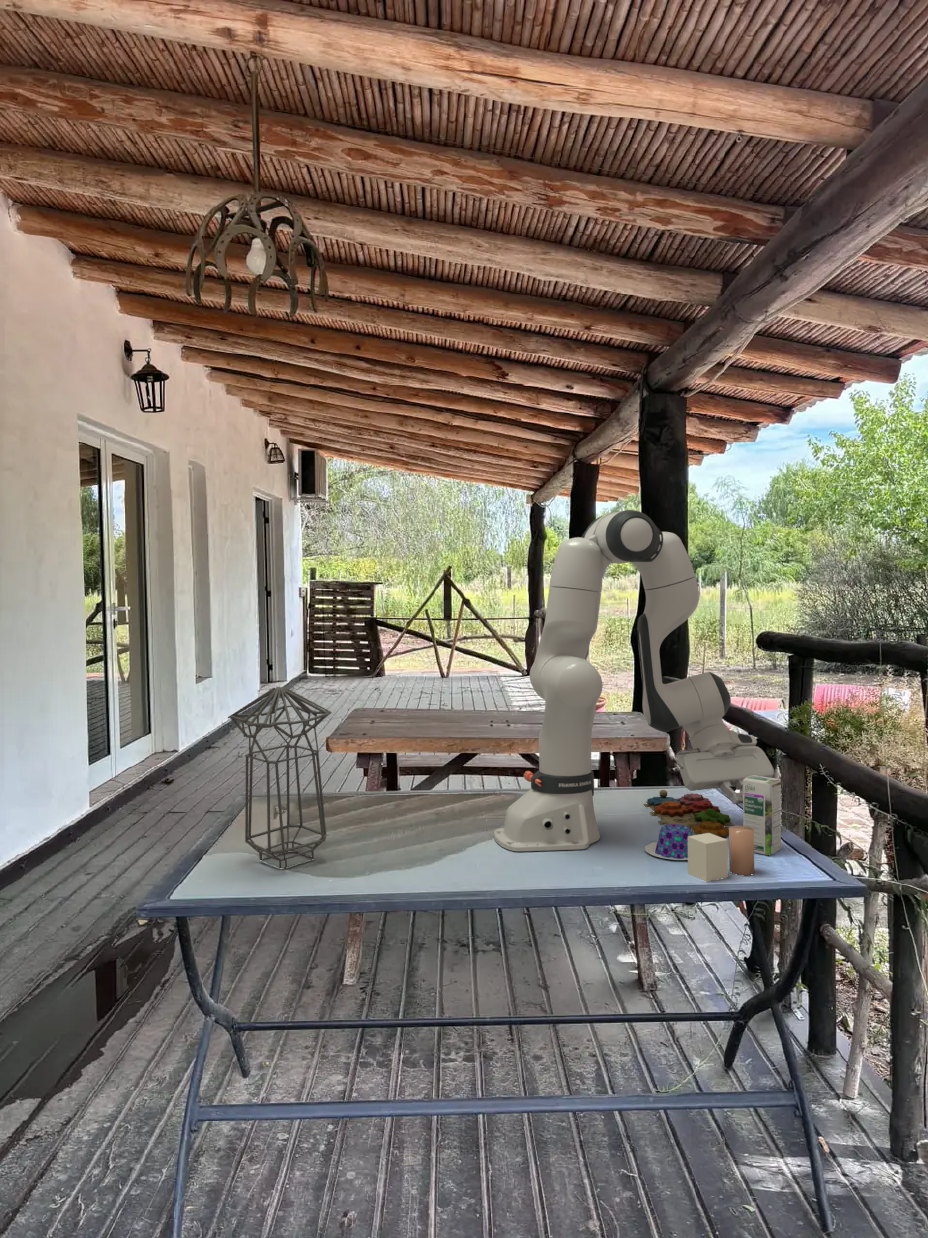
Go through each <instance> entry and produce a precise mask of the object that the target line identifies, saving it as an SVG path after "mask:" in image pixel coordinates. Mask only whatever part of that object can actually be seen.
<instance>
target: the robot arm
mask: <svg viewBox="0 0 928 1238" xmlns="http://www.w3.org/2000/svg"><path fill="white" fill-rule="evenodd" d="M627 563H631V564H632V565H634V566H635V567H636V569H637V571H638V572H639V574H640V577H641V581H642V585H643V589H644V593H645V606H644V611H643V613H642V614H641V615H640V616H639V617H638V618H637V627H636V628H637V646H638V655H639V657H638V658H639V667H640V676H641V677H640V678H641V687H642V688H641V689H642V691H641V692H642V712H643V716H644V719H645V722H646V723H647V724H648V726H649V727H651V728H653V729H654V730H657V731H659V732H662V733H665V734H666V733H668V732H670V731H673V730H675V729H678V728H680V727H683V730H684V731H686V733H687V734H688V737H689V741H690V744H691V747H692V749H681V750H678V752H677V753H675V756H674V759H675V762H676V764H677V766H678V767H679V771H680V776H681V779H682V782H683V784H684V787H685V789H687V790H689V791H690V792H691V791H692V792H693V791H704V790H714V789H720V791H721V793H723V795H726V797H728V798H730V801H731V803H732V804H733V805H741V804H742V805H743V779H745V778H746V777H749V776H752V775H756V776H762V777H769V778H774V774H775V769H774V767H773V765H772V763H771V761H770V760H769V758H768V756H767V755H766V753H765V751H764V750H763V749H762V748H760V747H759V746H758V745H757V743H758V741H757V738H756V737H755V736H753V735H751V734H747V733H746V734H745V733H742V732H739V731H738V732H737V731H733V730H730V729H729V728H728V726H727V725H726V724H725V722H724V720H723V717H725V716H726V715H727V713H728V710H729V708H730V706H731V700H732V699H731V695H730V691H729V690H728V688H727V686H726V684H725V682H724V681H723V679H722V678H721V677H720V676H719V675H717V674H715V673H713V672H710V671H708V672H707V671H706V672H702V673H699V674H695V675H692V676H687V677H685V678H681V679H679V680H676V681H672V682H668V683H663V678H662V676H663V675H662V667H661V665H662V664H661V658H660V657H661V656H660V648H661V645H662V644H663V642H664V640H665V639H666V637H668V635H669V634H670V633H672V632H674V631H675V630H676V629H677V628H679V627H680V626H681V625H682V624H684V623H685V622H686V621H687V620H688V619H689V618H691V616H692V615H693V614H694V612H696V609H697V608H698V604H699V601H700V592H699V585H698V581H697V578H696V574H695V571H694V567H693V565H692V562H691V559H690V556H689V555H688V552H687V550H686V547H685V545H684V544H683V542H682V539H681V538H680V536H678V535H677V534H676V533H674V532H669V531H661V529H660V528H659V527H658V526H657V525H656V524H655V522H654V521H653V520H652V518H650V517H649V515H647V514H646V513H645V512H644V513H643V512H641V511H639V510H634V509H625V510H621V511H619V510H617V511H612V512H609V513H606V514H605V515H601V516H599V517H597V518H596V519H594V520H593V521H592V522H591V523H590V524H589V525H588V526H587V528H586V530H585V531H584V533H583V534H582V535H581V536H580V537H579V536H577V537H572V538H568V539H565V540H563V542H561V544H560V545H559V546H558V549H557V552H556V555H555V558H554V562H553V565H552V569H551V574H550V580H549V586H548V587H549V588H548V594H547V595H548V597H547V602H546V603H547V604H546V611H545V618H544V624H543V628H542V633H541V635H540V640H539V643H538V645H537V650H536V653H535V658H534V662H533V664H532V666H531V667H530V669H529V670H530V671H529V681H530V684H531V687H532V689H533V691H534V692H535V694H537V695H538V697H540V698H541V699H543V700H544V702H545V703H544V704H545V706H544V713H543V719H542V725H541V729H540V731H539V734H538V754H539V755H538V758H539V759H538V761H539V762H538V766H539V769H538V770H537V771H535V773H533V772H532V771H530V770H526V771H525V772H524V773H523V779H524V780H525V781H527V782H529V783H530V789H529V790H528V791H526V792H525V793H524V794H523V795H521V796H520V797H519V798H518V799H517V800H516V801H515V802H513V803H512V804H510V805H509V806H508V808H507V810H506V811H505V812H506V813H505V817H504V822H503V827H501V828H500V827H499V828H497V829H495V830H494V833H493V838H494V841H495V842H496V843H497V844H498V845H499V846H500V847H502V848H504V849H507V850H509V851H512V852H537V851H538V852H539V851H540V852H541V851H544V852H545V851H566V850H568V851H571V850H572V851H573V850H585V849H587V848H589V846H590V845H592V844H593V843H596V842H597V841H599V840H600V839H601V834H600V832H599V828H598V825H597V818H596V813H595V806H594V798H593V797H594V796H595V795H594V794H595V777H594V770H592V731H593V725H594V720H595V714H596V709H597V702H598V701H599V699H600V697H601V695H602V691H603V679H602V676H601V674H600V673H599V671H598V670H597V668H596V667H595V666H594V665H593V664H592V663H591V662H590V661H588V660H587V659H586V656H587V653H588V651H589V647H590V643H591V642H592V641H591V640H592V639H593V636H594V635H595V634H596V631H597V630H598V623H599V615H600V606H601V598H602V590H603V589H602V588H603V579H604V575H605V572H606V571H607V568H608V567H609V566H610V565H611V564H618V565H619V564H620V565H621V564H622V565H623V564H627ZM756 745H757V746H756ZM732 787H735V788H736V790H737V791H739V792H736V791H734V789H733V788H732Z"/></svg>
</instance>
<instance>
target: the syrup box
mask: <svg viewBox="0 0 928 1238" xmlns="http://www.w3.org/2000/svg"><path fill="white" fill-rule="evenodd" d="M742 823H743V825H742V826H746V827H750V828H753V829H754V854H761V855H764V856H768V855H769V857H770V856H772V855H774V854H775V853H777V852H779V851H780V850H781V849H782V779H781V778H774V777H772V778H769V777H762V776H756V775H752V776H749V777H746V778H745V779H743V803H742Z"/></svg>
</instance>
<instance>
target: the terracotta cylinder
mask: <svg viewBox="0 0 928 1238" xmlns="http://www.w3.org/2000/svg"><path fill="white" fill-rule="evenodd" d="M728 829H729V834H728V872H729V871H730V872H732V873H734V874H737V875H736V876H739V875H751V874H753V873H754V874H755V852H754V829H753V828H750V827H746V826H743V825H733V826H730V827H728ZM730 872H729V873H730ZM732 873H731V874H732ZM734 874H733V875H734ZM754 874H753V875H754ZM751 876H752V875H751Z"/></svg>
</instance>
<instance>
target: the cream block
mask: <svg viewBox="0 0 928 1238" xmlns="http://www.w3.org/2000/svg"><path fill="white" fill-rule="evenodd" d="M687 859H688V860H687V874H688V875H689V876H692V877H694V878H696V879H698V878H699V879H698V880H700V879H701V881H702V880H704V881H706V882H705V883H708V882H707V881H711V880H716V881H718V880H717V879H721V878H725V877H728V878H729V839H727V838H724V837H722V836H716V835H714V834H711V833H705V834H692V836H688V858H687ZM725 879H726V878H725ZM721 880H722V879H721ZM704 881H703V882H704ZM711 882H712V881H711Z"/></svg>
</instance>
